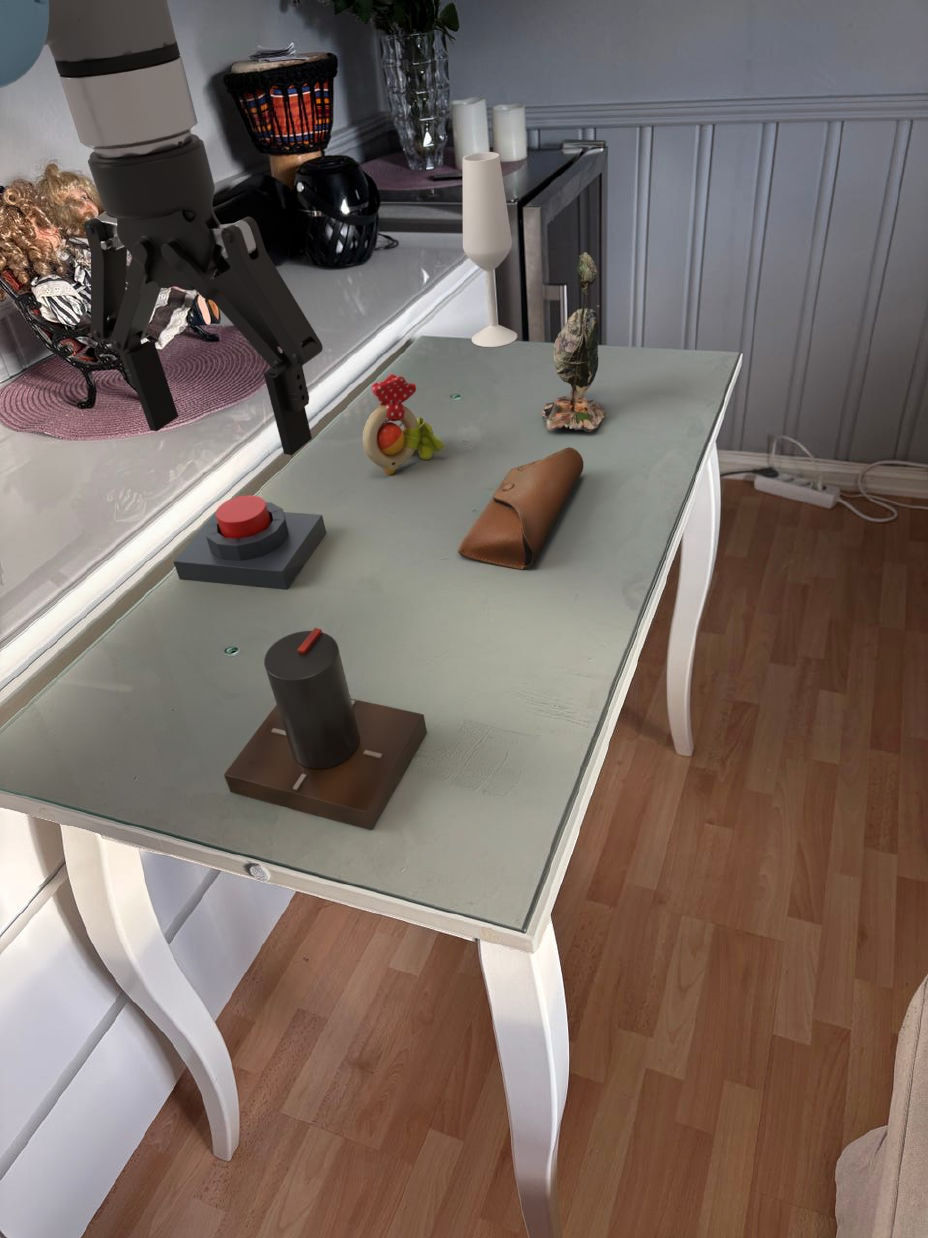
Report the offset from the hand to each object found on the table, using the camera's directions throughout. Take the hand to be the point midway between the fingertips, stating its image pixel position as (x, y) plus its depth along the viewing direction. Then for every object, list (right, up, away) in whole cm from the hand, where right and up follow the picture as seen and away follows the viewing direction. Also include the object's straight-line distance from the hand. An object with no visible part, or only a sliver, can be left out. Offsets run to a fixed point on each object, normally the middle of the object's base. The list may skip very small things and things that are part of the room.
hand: (229, 434), depth 73 cm
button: (-3, -5, +19) cm, 20 cm away
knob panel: (+8, -26, -2) cm, 27 cm away
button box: (-3, -8, +21) cm, 23 cm away
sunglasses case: (+25, -4, +22) cm, 33 cm away
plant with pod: (+32, +10, +38) cm, 51 cm away
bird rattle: (+12, +3, +33) cm, 35 cm away
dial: (+8, -24, -4) cm, 26 cm away
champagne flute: (+23, +26, +59) cm, 69 cm away
